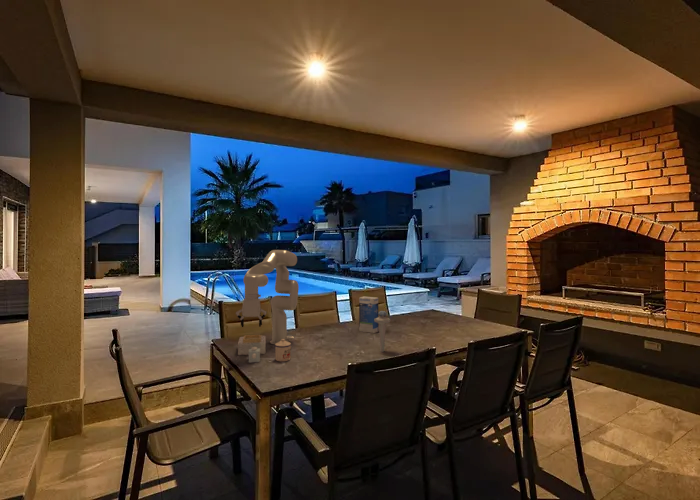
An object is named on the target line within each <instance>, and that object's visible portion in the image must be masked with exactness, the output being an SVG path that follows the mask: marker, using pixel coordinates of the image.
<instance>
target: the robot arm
mask: <svg viewBox="0 0 700 500" xmlns="http://www.w3.org/2000/svg"><path fill="white" fill-rule="evenodd" d="M297 263H298V257H297V255H296V254H295V253H293V252H292V251H290V250H285V249H272V250H271V251H269V252H268V253H267V255H266V256H265V258H264V259H263V261H262V262H259V263H257V264H255V265H253V266H252V267H251V268H249V269H248V270H247V271H246V273H245V275H244V276H243V284H244V298H243V300H242V307H241V309H239V310H237V311H236V312H235V315H236V317H237V318H238V319H239V320H240V326H241V328H244V327H245V326H244V325H245V320H244V318H250V317H253V318H255V317H256V318H258V327H259V328H261V327H262V325H263V319H264V318H265V317H266V314H267V310H264V309H263V308H261V299H260V298H261V297H262V296H261V294H259V288H260V287H261V288H263V287H266V286H267V285H268V283H269V278H268V276H267V275H266V274H269V273H271V272H273V271H274V270H276V276H275V284H274V291H275V293H277V294H282V295H274V296H272V297H271V299H270V307H271V317H272V319H271V320H272V321H271V322H272V323H271V324H272V325H271V328H272V329H271V334H272V336H271V338H272V339H271V340H270V341H269V343H270V344H271V345H274V346H275V344H276V343H278V342H280V341H281V339H285V341H287V342H290V340H294V336H292V335H290V336H289V335H288V332H287V331H288V330H287V329H288V327H287V326H288V318H287V317H288V316H287V313H286V312H285V311H294V310H296V309H297V305H298V298H299V297H298V296H299V283H298V281H297V280H296V279H289V278H290V271H289V269H288V268H287V267H294V266H296V264H297ZM240 313H241V315H240ZM261 313H263V314H262V315H261Z"/></svg>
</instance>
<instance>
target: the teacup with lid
mask: <svg viewBox="0 0 700 500" xmlns="http://www.w3.org/2000/svg"><path fill="white" fill-rule="evenodd" d="M274 347H275V349H274V350H275V352H274V353H275V361H277V362H280V363H281V362H288V361H290V360H291V351H292V343H291V342H290V341H289V342H287V341H285V339H281V341H280V342H278V343H276V344H275V345H274Z"/></svg>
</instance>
